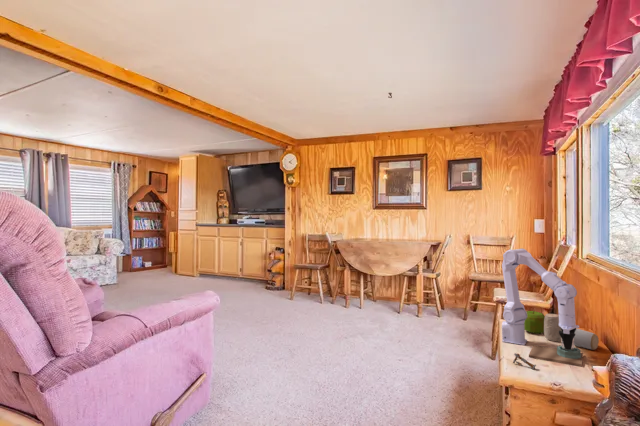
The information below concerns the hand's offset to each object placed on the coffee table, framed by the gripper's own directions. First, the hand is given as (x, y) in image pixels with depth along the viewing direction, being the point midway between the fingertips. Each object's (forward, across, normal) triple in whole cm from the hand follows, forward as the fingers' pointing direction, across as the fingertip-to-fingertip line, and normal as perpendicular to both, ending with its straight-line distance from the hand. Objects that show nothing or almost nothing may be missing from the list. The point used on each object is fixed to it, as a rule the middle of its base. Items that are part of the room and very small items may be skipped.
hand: (568, 346), depth 149 cm
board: (+4, -2, +4) cm, 6 cm away
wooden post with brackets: (+5, -20, +14) cm, 25 cm away
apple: (+5, +30, +16) cm, 34 cm away
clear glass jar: (+3, 0, 0) cm, 3 cm away
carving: (+5, +21, +7) cm, 23 cm away
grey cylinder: (+5, +18, -6) cm, 20 cm away
